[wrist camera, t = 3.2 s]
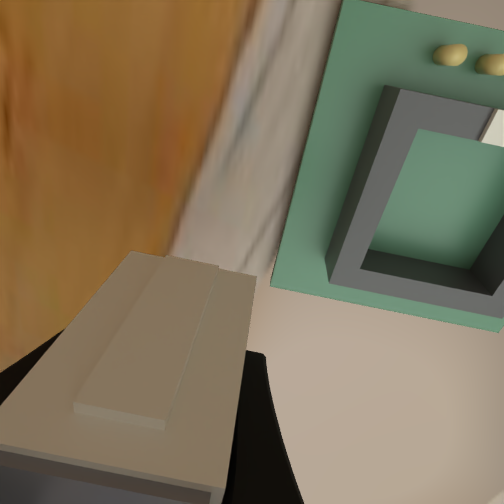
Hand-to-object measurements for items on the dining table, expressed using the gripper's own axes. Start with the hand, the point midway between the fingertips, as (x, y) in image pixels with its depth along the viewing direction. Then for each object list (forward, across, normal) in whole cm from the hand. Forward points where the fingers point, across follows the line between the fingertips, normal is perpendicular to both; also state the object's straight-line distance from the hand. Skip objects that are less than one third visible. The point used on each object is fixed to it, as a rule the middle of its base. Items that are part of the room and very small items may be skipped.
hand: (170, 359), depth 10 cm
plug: (+2, 0, 0) cm, 2 cm away
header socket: (+8, -9, -4) cm, 13 cm away
